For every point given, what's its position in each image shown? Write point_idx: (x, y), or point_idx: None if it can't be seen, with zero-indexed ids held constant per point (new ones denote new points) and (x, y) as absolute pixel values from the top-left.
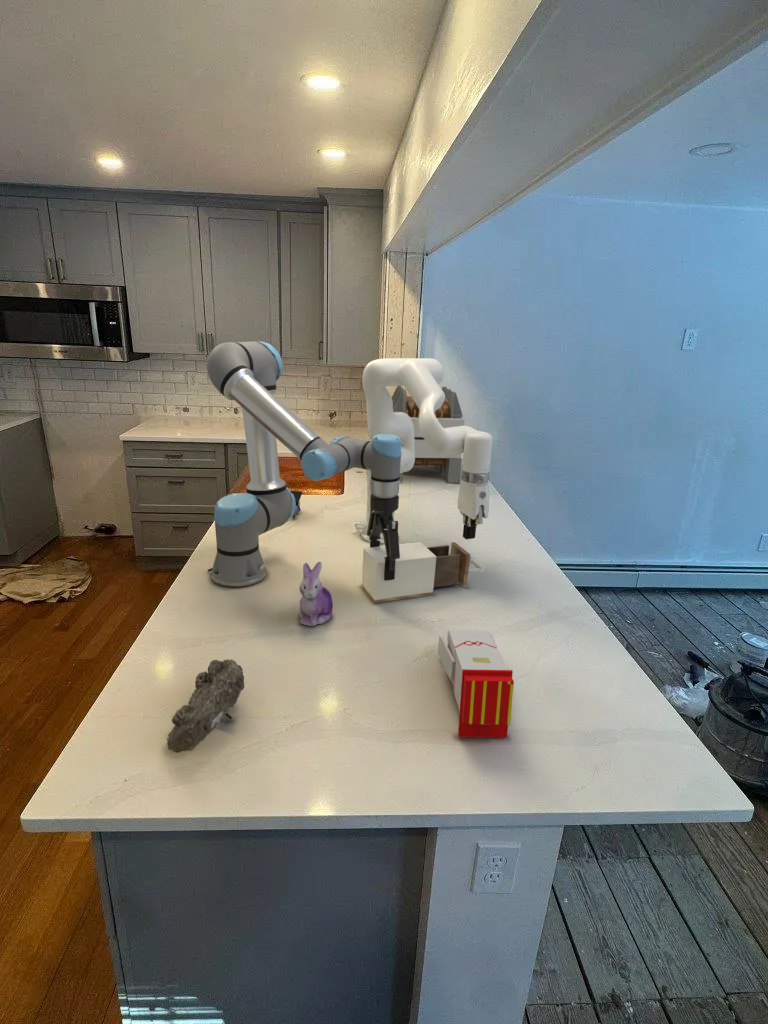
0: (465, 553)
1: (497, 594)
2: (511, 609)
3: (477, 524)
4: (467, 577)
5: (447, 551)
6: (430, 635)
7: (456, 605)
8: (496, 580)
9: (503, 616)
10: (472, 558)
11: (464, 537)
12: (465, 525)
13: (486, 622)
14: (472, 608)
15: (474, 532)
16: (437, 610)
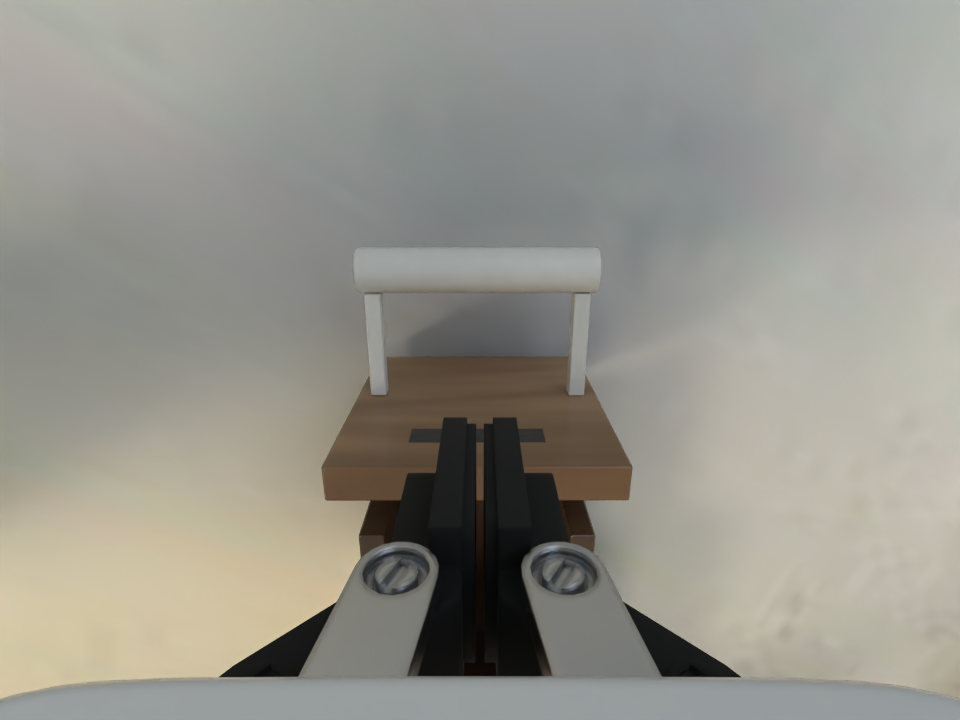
0: (599, 499)
1: (720, 209)
2: (909, 233)
3: (610, 579)
4: (586, 379)
5: (392, 515)
6: (866, 673)
7: (717, 488)
8: (549, 93)
9: (937, 323)
10: (424, 269)
11: (476, 530)
12: (462, 662)
13: (927, 435)
14: (781, 431)
15: (558, 500)
16: (715, 580)
